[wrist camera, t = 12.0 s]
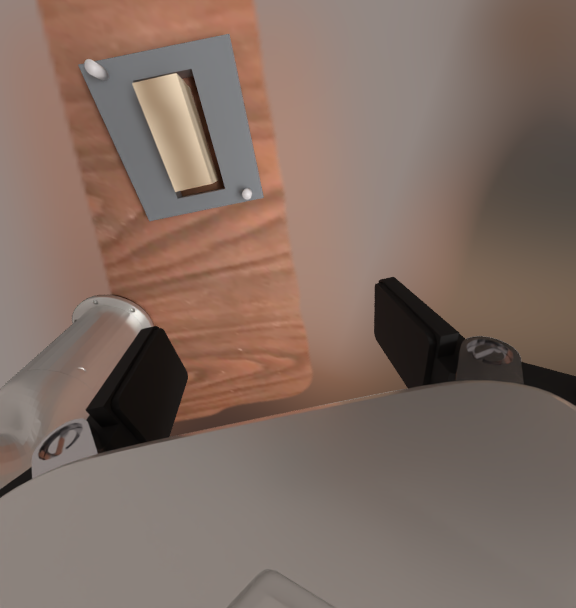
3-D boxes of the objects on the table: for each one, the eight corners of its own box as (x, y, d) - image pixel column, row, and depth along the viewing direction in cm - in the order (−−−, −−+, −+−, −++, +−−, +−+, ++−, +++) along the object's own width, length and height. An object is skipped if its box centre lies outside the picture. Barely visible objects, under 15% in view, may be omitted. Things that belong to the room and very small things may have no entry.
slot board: (263, 195, 36) (264, 199, 32) (155, 217, 36) (143, 224, 32) (231, 43, 28) (227, 24, 24) (92, 72, 28) (65, 57, 24)
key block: (190, 88, 29) (176, 73, 24) (218, 180, 34) (211, 183, 29) (154, 96, 29) (131, 83, 24) (187, 187, 34) (175, 191, 29)
